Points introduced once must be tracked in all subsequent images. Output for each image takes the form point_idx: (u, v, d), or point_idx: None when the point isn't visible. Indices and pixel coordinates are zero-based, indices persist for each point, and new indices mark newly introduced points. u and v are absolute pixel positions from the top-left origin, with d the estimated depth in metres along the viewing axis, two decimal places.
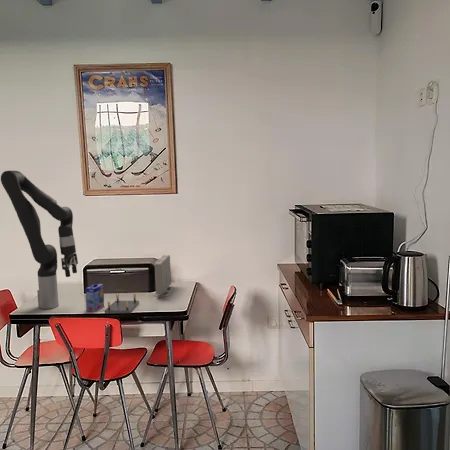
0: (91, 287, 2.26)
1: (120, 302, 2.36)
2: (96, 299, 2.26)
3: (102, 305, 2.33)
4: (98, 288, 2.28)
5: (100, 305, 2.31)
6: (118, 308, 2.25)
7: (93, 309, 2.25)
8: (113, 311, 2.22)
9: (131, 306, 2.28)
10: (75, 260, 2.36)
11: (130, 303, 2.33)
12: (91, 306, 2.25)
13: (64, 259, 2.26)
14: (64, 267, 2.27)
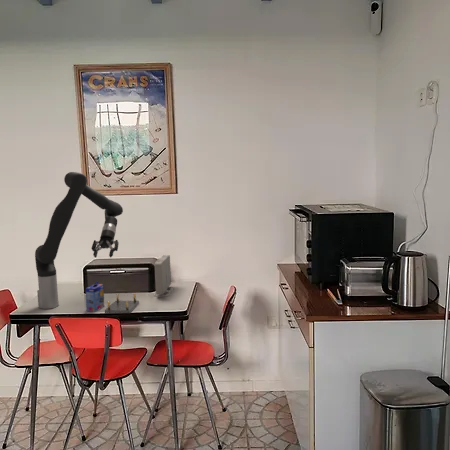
0: (91, 287, 2.26)
1: (120, 302, 2.36)
2: (96, 299, 2.26)
3: (102, 305, 2.33)
4: (98, 288, 2.28)
5: (100, 305, 2.31)
6: (118, 308, 2.25)
7: (93, 309, 2.25)
8: (113, 311, 2.22)
9: (131, 306, 2.28)
10: None
11: (130, 303, 2.33)
12: (91, 306, 2.25)
13: None
14: (116, 248, 2.45)
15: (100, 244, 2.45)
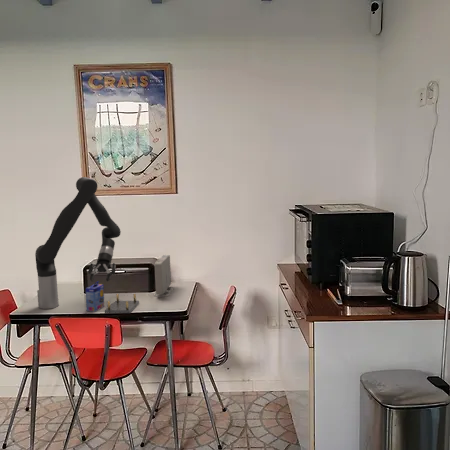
0: (91, 287, 2.26)
1: (120, 302, 2.36)
2: (96, 299, 2.26)
3: (102, 305, 2.33)
4: (98, 288, 2.28)
5: (100, 305, 2.31)
6: (118, 308, 2.25)
7: (93, 309, 2.25)
8: (113, 311, 2.22)
9: (131, 306, 2.28)
10: None
11: (130, 303, 2.33)
12: (91, 306, 2.25)
13: (115, 266, 2.43)
14: (113, 271, 2.40)
15: (97, 268, 2.40)
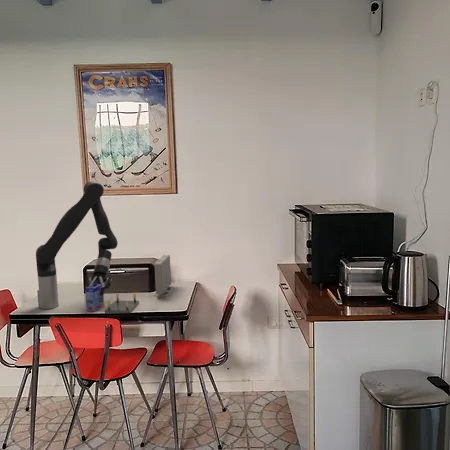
0: (90, 287, 2.26)
1: (120, 302, 2.36)
2: (96, 298, 2.26)
3: (102, 305, 2.33)
4: (98, 288, 2.28)
5: (100, 305, 2.31)
6: (118, 308, 2.25)
7: (93, 309, 2.25)
8: (113, 311, 2.22)
9: (131, 306, 2.28)
10: None
11: (130, 303, 2.33)
12: (91, 306, 2.25)
13: (111, 279, 2.36)
14: (108, 285, 2.33)
15: (94, 281, 2.34)
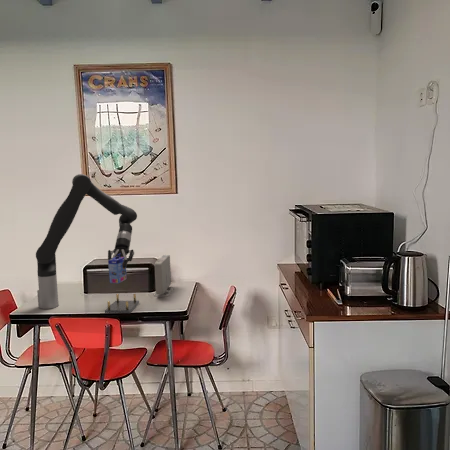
0: (113, 259, 2.25)
1: (120, 302, 2.36)
2: (119, 271, 2.25)
3: (125, 277, 2.31)
4: (120, 260, 2.27)
5: (123, 277, 2.30)
6: (118, 308, 2.25)
7: (116, 281, 2.24)
8: (113, 311, 2.22)
9: (131, 306, 2.28)
10: None
11: (130, 303, 2.33)
12: (115, 278, 2.24)
13: (133, 252, 2.34)
14: (130, 258, 2.32)
15: (116, 253, 2.32)
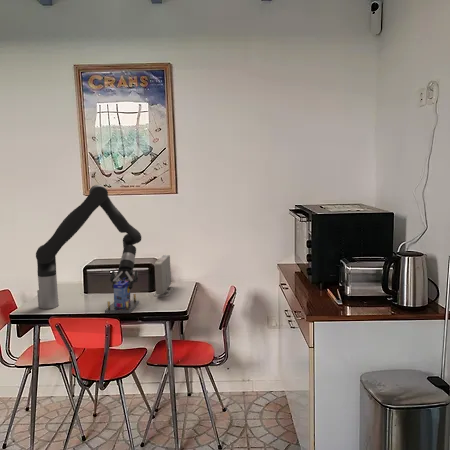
0: (119, 283, 2.26)
1: None
2: (124, 295, 2.26)
3: (129, 301, 2.33)
4: (126, 284, 2.28)
5: (128, 301, 2.31)
6: (118, 308, 2.25)
7: (121, 305, 2.26)
8: (113, 311, 2.22)
9: (131, 306, 2.28)
10: None
11: (130, 303, 2.33)
12: (120, 302, 2.25)
13: (137, 273, 2.36)
14: None
15: (119, 275, 2.33)
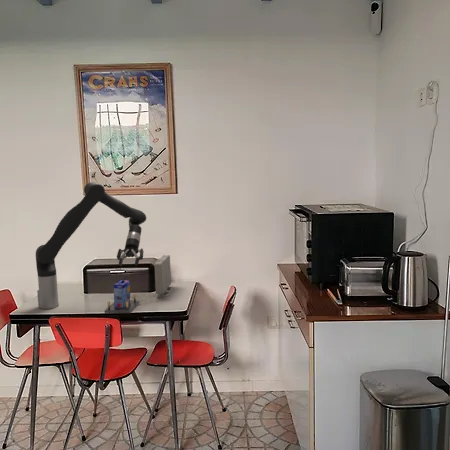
0: (119, 283, 2.26)
1: None
2: (124, 295, 2.26)
3: (129, 301, 2.33)
4: (126, 284, 2.28)
5: (128, 301, 2.31)
6: (118, 308, 2.25)
7: (121, 305, 2.26)
8: (113, 311, 2.22)
9: (131, 306, 2.28)
10: None
11: (130, 303, 2.33)
12: (120, 302, 2.25)
13: (143, 251, 2.47)
14: (141, 256, 2.44)
15: (125, 253, 2.45)
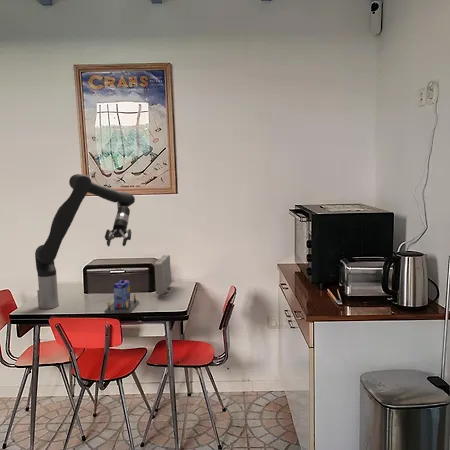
0: (119, 283, 2.26)
1: None
2: (124, 295, 2.26)
3: (129, 301, 2.33)
4: (126, 284, 2.28)
5: (128, 301, 2.31)
6: (118, 308, 2.25)
7: (121, 305, 2.26)
8: (113, 311, 2.22)
9: (131, 306, 2.28)
10: None
11: (130, 303, 2.33)
12: (120, 302, 2.25)
13: None
14: (129, 237, 2.46)
15: (113, 233, 2.46)
